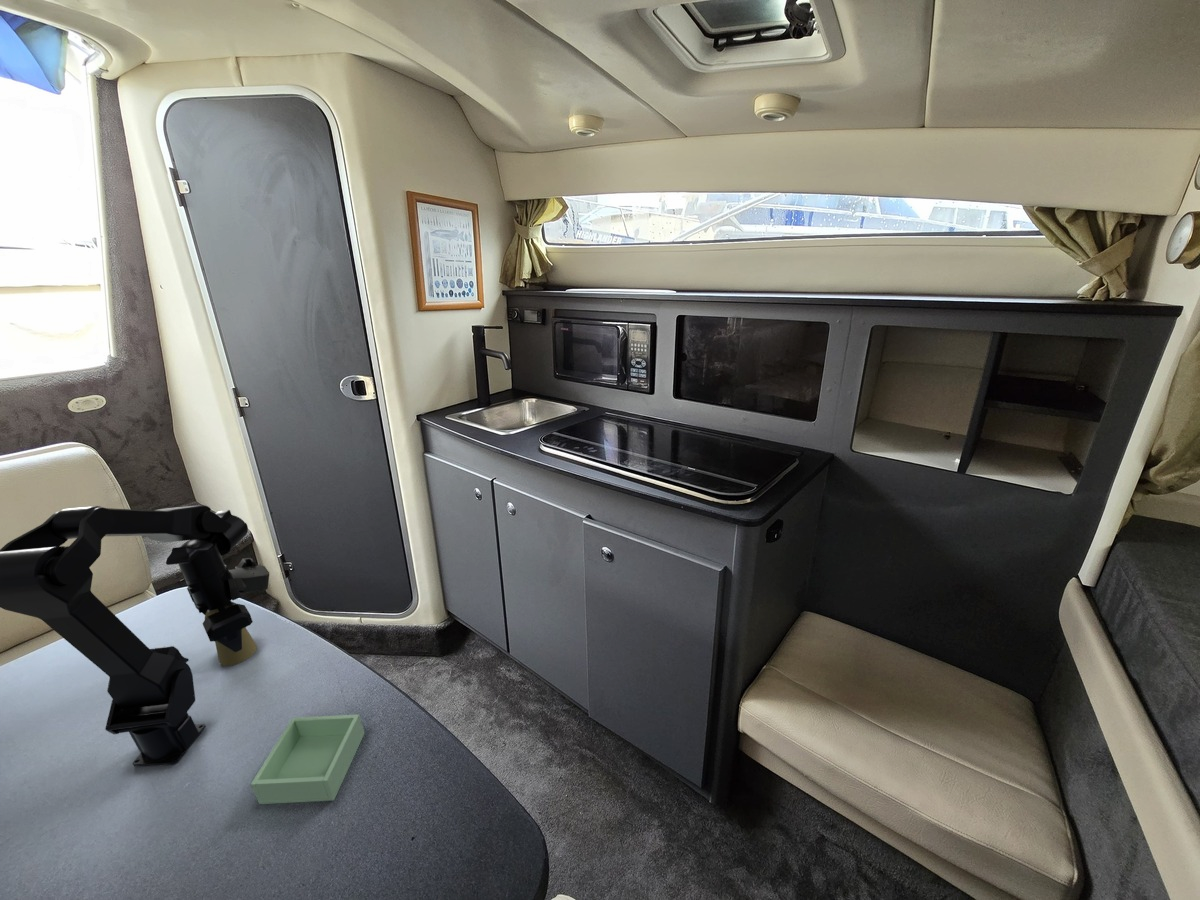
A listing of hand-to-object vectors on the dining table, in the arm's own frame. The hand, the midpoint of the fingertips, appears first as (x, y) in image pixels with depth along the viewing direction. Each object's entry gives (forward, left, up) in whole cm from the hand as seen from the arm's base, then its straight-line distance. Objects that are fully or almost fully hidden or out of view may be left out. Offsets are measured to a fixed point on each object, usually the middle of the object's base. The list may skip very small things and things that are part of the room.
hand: (233, 639), depth 93 cm
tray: (+26, -24, -3) cm, 36 cm away
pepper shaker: (0, 0, -4) cm, 4 cm away
